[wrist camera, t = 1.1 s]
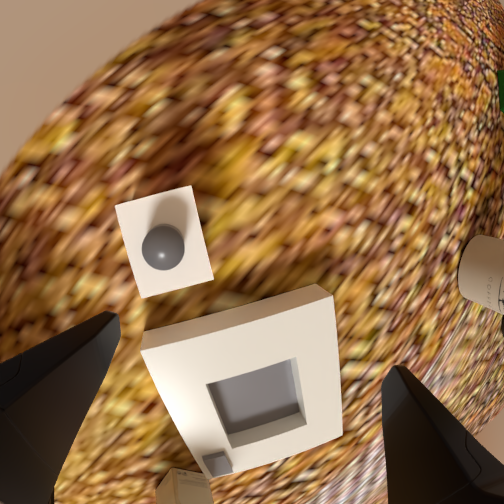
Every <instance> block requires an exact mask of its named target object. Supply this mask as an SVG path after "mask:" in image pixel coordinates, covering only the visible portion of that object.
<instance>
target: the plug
mask: <svg viewBox="0 0 504 504" xmlns="http://www.w3.org/2000/svg"><path fill="white" fill-rule="evenodd" d="M115 208H116V212H117V216H118V220H119V224H120V228H121V232H122V236H123V239H124V243H125V247H126V250H127V254H128V257H129V260H130V264H131V267H132V270H133V274H134V277H135V280H136V283H137V286H138V289H139V292H140V295H141V298H146V297H150V296H154V295H157V294H161V293H165V292H169V291H173V290H177V289H180V288H184V287H188V286H192V285H195V284H199V283H203V282H207V281H210V280H214V278H213V274H212V270H211V266H210V262H209V258H208V254H207V250H206V246H205V242H204V238H203V234H202V229H201V225H200V221H199V217H198V212H197V208H196V204H195V199H194V195H193V190H192V186H191V185H190V186H186V187H182V188H178V189H174V190H170V191H166V192H162V193H158V194H155V195H151V196H147V197H144V198H140V199H136V200H133V201H129V202H126V203H122V204H119V205H116V206H115Z"/></svg>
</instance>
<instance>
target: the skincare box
mask: <svg viewBox="0 0 504 504" xmlns="http://www.w3.org/2000/svg"><path fill="white" fill-rule="evenodd" d="M155 493H156V504H214V502H213V498H212V493H211V489H210V484H209V480H208V479H207V478H206V476H205V475H204V474H202V473H197V472H192V471H187V470H182V469H177V468H171V469H170V471H169V472H168V473H167V475H166V476H165V478H164V479H163V480H162V482H161V483H160V485H159V486H158V487H157V489H156V491H155Z"/></svg>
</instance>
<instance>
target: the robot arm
mask: <svg viewBox="0 0 504 504" xmlns="http://www.w3.org/2000/svg"><path fill="white" fill-rule="evenodd" d="M120 336H121V330H120V321H119V316H118V314H117V313H114V312H111V311H104V312H102V313H100V314H98V315H96V316H94V317H92V318H90V319H88V320H86V321H84V322H82V323H80V324H78V325H76V326H74V327H72V328H70V329H68V330H66V331H64V332H62V333H60V334H58V335H56V336H54V337H52V338H50V339H48V340H46V341H44V342H42V343H40V344H38V345H36V346H34V347H32V348H30V349H28V350H26V351H25V352H23V354H22V353H20V354H18V355H17V356H15V357H13V358H11V359H8V360H6V361H4V362H2V363H0V504H54V486H55V483H56V481H57V478H58V475H59V473H60V471H61V469H62V466H63V464H64V462H65V459H66V457H67V455H68V453H69V450H70V448H71V446H72V444H73V442H74V439H75V437H76V435H77V433H78V431H79V429H80V427H81V424H82V422H83V420H84V418H85V416H86V414H87V412H88V410H89V408H90V406H91V404H92V402H93V400H94V398H95V396H96V394H97V392H98V390H99V388H100V386H101V384H102V382H103V380H104V378H105V376H106V373H107V371H108V368H109V366H110V363H111V360H112V358H113V355H114V353H115V350H116V348H117V345H118V342H119V340H120ZM381 393H382V428H383V438H384V447H385V459H386V471H387V488H388V504H504V465H503V464H502V463H501V462H500V461H498V460H497V459H496V458H495V457H494V456H493V455H492V454H491V453H490V452H489V451H487V450H486V449H485V448H484V447H483V446H482V445H481V444H480V443H479V442H478V441H477V440H476V439H475V438H474V437H473V436H472V435H471V434H470V433H469V431H468V430H466V428H465V427H464V426H463V425H462V424H461V423H460V422H459V421H458V420H457V419H456V418H455V417H454V416H453V415H452V414H451V413H450V412H449V411H448V409H447V408H446V407H445V406H444V405H443V404H442V403H441V402H440V401H439V400H438V399H437V398H436V397H435V396H434V395H433V394H432V393H431V392H430V391H429V390H428V389H427V388H426V387H425V386H424V385H423V384H422V383H421V382H420V381H419V380H418V379H417V378H416V377H415V376H414V375H413V374H412V373H411V372H410V371H409V370H408V369H407V368H406V367H405V366H402V365H394V366H393V367H392V368H391V369H390V371H389V372H388V374H387V375H386V377H385V378H384V380H383V382H382V386H381Z"/></svg>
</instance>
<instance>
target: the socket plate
mask: <svg viewBox="0 0 504 504" xmlns="http://www.w3.org/2000/svg"><path fill="white" fill-rule="evenodd" d="M140 351H141V354H142V356H143V358H144V361H145V363H146V365H147V368H148V370H149V372H150V374H151V377H152V379H153V381H154V383H155V385H156V387H157V389H158V391H159V394H160V396H161V398H162V400H163V402H164V404H165V406H166V408H167V410H168V412H169V414H170V415H171V417H172V419H173V421H174V423H175V425H176V427H177V429H178V431H179V432H180V434H181V436H182V438H183V440H184V441H185V443H186V445H187V447H188V448H189V450H190V452H191V453H192V455H193V457H194V459H195V460H196V462H197V464H198V465H199V467H200V468H201V470H202V472H203V473H204V475H205V476H206V478H207V479H212V478H216V477H221V476H225V475H229V474H233V473H237V472H241V471H245V470H248V469H252V468H255V467H259V466H262V465H265V464H268V463H271V462H275V461H278V460H281V459H284V458H286V457H289V456H292V455H295V454H298V453H300V452H303V451H306V450H308V449H311V448H313V447H316V446H318V445H321V444H323V443H326V442H328V441H330V440H333V439H335V438H337V437H339V436H342V403H341V383H340V367H339V353H338V341H337V330H336V319H335V309H334V300H333V295H332V294H330V293H329V292H327V291H326V290H324V289H323V288H322V287H320V286H319V285H317V284H316V283H315V284H312V285H309V286H306V287H303V288H299V289H296V290H293V291H290V292H286V293H283V294H280V295H276V296H273V297H270V298H266V299H263V300H260V301H256V302H253V303H249V304H246V305H242V306H239V307H235V308H232V309H228V310H225V311H221V312H217V313H214V314H210V315H206V316H203V317H199V318H195V319H191V320H188V321H184V322H180V323H176V324H172V325H168V326H164V327H160V328H156V329H152V330H148V331H144V333H143V338H142V344H141V349H140Z"/></svg>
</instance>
